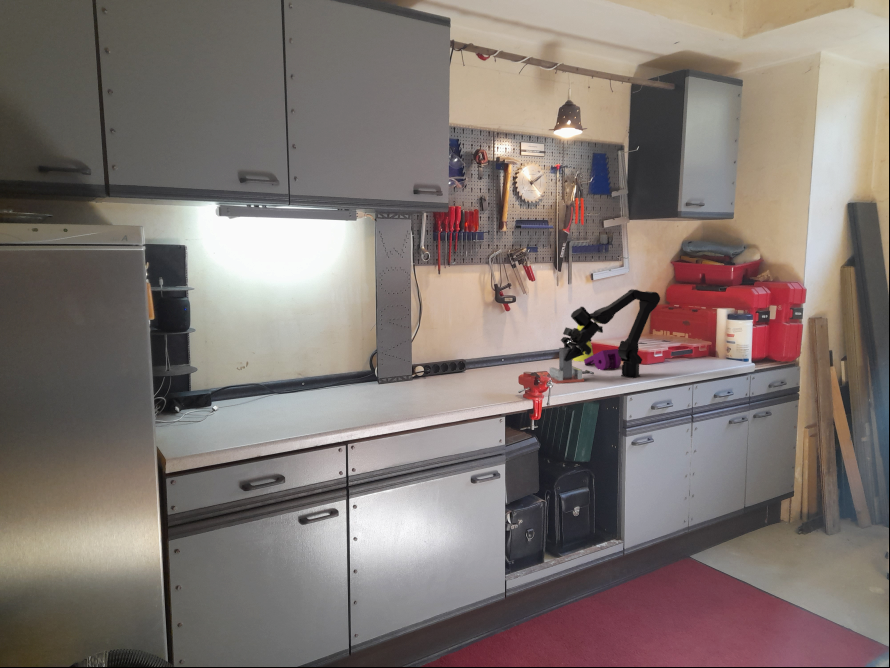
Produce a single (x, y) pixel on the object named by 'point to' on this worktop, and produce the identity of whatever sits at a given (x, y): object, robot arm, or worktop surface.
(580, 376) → the bench vise
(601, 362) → the mounting bracket
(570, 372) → the steel bar
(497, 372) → the worktop surface
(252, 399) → the worktop surface
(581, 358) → the cone
